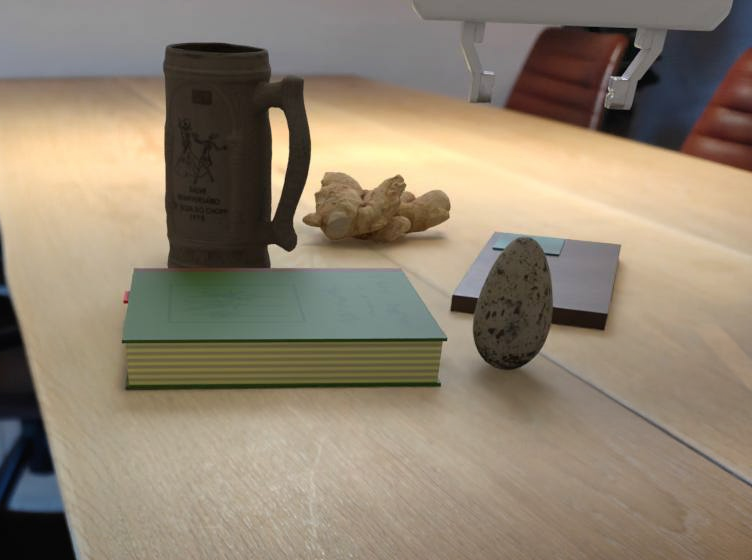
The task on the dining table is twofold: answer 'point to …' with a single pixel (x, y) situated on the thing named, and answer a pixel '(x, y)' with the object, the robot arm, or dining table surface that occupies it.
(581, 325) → the serving board
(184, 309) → the hardcover book
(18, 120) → the dining table surface
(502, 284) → the decorative egg
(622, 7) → the robot arm
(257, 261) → the beer stein
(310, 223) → the ginger root
